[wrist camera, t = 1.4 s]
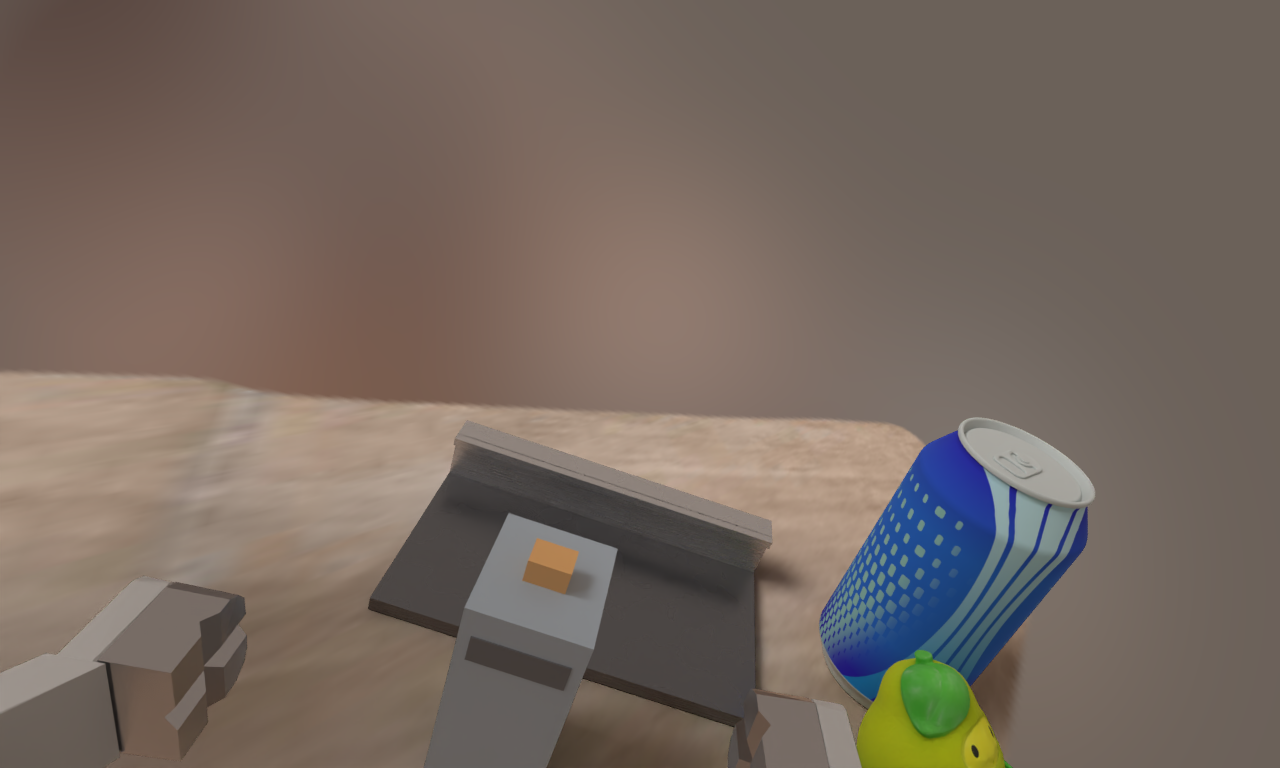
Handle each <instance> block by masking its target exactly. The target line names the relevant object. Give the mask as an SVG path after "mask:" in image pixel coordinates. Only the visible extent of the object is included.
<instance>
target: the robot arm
mask: <svg viewBox="0 0 1280 768" xmlns="http://www.w3.org/2000/svg"><path fill="white" fill-rule="evenodd" d="M245 614H246V611H245V601H244V597H241V596H239V595H236V594H231V593H226V592H221V591H217V590H212V589H207V588H202V587H198V586H193V585H188V584H183V583H179V582H171V581H166V580H162V579H157V578H152V577H147V576H142V577H140V578H137V579H135V580H133V581H132V582H130V583H129V584H128V585H127V586H126V587H125V588H124V589H123V590H122V591H121V592H120V593H119V594H118V595H117V596H116V597H115V598H114V599H113V600H112V601H111V602H110V603H109V604H108V605H107V606H106V607H105V608H104V609H103V610H102V611H101V612H100V613H99V614H98V615H97V616H95V617H94V618H93V619H92V620H91V621H90V622H89V623H88V624H87V625H86V626H85V627H84V628H83V629H82V630H81V631H80V632H79V633H78V634H77V635H76V636H75V637H74V638H73V639H72V640H71V641H70V642H69V643H68V644H67V645H66V646H65V647H64V648H63V649H62V650H61V651H60V652H59V653H58V654H57V655H56V654H49V653H45V654H43V655H41V656H38V657H36V658H34V659H31V660H29V661H26V662H24V663H22V664H19V665H17V666H15V667H12V668H10V669H8V670H5V671H3V672H1V673H0V768H104V767H105V766H107V765H108V764H110V763H111V762H113V761H114V760H116V759H117V758H119V757H120V753H123V754H130V755H137V756H145V757H152V758H159V759H166V760H173V761H180V762H181V761H182V759H183V758H184V756H185V755H186V753H187V752H188V751H189V749H190V748H191V746H192V745H193V743H194V742H195V740H196V739H197V738H198V736H199V735H200V733H201V732H202V730H203V729H204V727H205V726H206V725H207V723H208V713H207V707H209V706H210V705H212V704H214V703H216V702H218V701H219V700H221V699H223V698H225V697H226V695H227V694H228V692H229V691H230V689H231V688H232V686H233V685H234V683H235V682H236V680H237V678H238V675H239V673H240V670H241V668H242V666H243V663H244V660H245V655H246V650H247V635H246V634H245V632H244V631H243V630H242V629H241V628H240V626H239V625H238V624H239V622H240V621H241V620H242V618H243V617H244V615H245ZM743 708H744V719H742V720H741V721H739V722H737V723H736V724H735V727H734V730H733V733H732V736H731V740H730V746H729V752H728V768H862V766H861V763H860V759H859V755H858V752H857V748H856V744H855V741H854V737H853V733H852V730H851V726H850V722H849V719H848V715H847V711H846V709H845V708H844V707H843V705H842V704H838V703H832V702H826V701H821V700H815V699H811V700H810V699H809V698H805V697H799V696H793V695H787V694H781V693H775V692H770V691H764V690H758V689H751V690H750V691H749V692H748V693H747V696H746V698H745V701H744V703H743Z"/></svg>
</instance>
